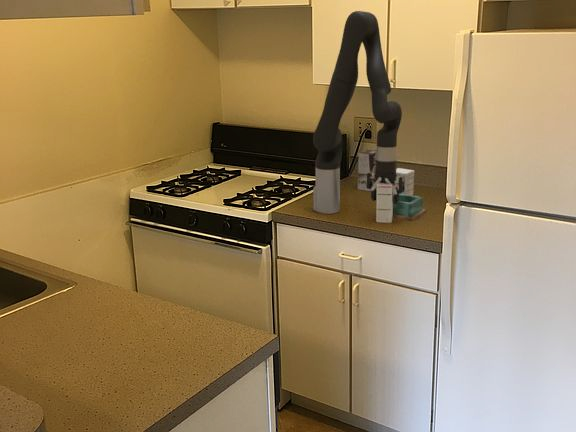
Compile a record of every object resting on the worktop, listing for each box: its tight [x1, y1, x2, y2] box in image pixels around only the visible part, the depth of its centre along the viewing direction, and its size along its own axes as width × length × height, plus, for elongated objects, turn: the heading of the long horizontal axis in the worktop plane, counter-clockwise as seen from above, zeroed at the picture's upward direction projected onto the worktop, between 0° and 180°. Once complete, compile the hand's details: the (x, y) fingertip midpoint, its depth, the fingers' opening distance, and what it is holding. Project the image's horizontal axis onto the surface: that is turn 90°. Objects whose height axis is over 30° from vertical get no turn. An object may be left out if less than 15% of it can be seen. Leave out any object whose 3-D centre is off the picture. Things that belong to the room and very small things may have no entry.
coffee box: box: [357, 149, 377, 192], centre depth 276 cm, size 9×6×16 cm
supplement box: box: [393, 167, 415, 196], centre depth 258 cm, size 7×7×13 cm
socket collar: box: [392, 194, 427, 222], centre depth 242 cm, size 13×13×6 cm
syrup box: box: [375, 183, 394, 224], centre depth 233 cm, size 6×6×14 cm
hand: (384, 202), depth 233 cm, fingers open, 8 cm apart
